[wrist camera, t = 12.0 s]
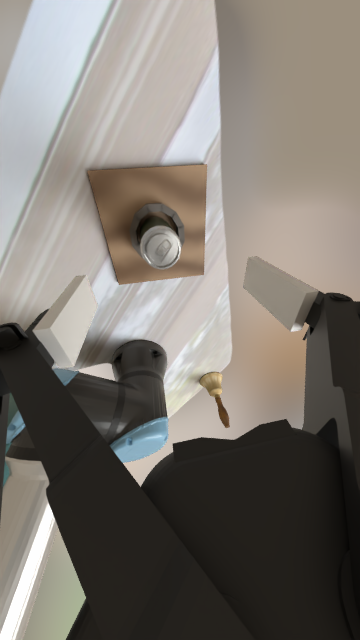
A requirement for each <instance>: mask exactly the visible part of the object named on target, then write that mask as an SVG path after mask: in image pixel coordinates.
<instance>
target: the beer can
mask: <svg viewBox="0 0 360 640" xmlns="http://www.w3.org/2000/svg"><path fill="white" fill-rule="evenodd" d="M140 249H141V254H142V256H143V258H144V260H145V261H146V262H147V263H148V264H149V265H150V266H152V267H153V268H156V269H167V268H170V267H172V266H173V265H174V264H176V262H177V261H178V259H179V257H180V253H181V243H180V239H179V237H178V235H177V234H176V232H175V231H174V230H173V229H172V228H171V226H170V225H169V224H168V223H167V222H166V221H165V220H164V219H163V218H160V217H150V218H148V219H147V220H146V221H144V223H143V225H142V227H141V233H140Z"/></svg>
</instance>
